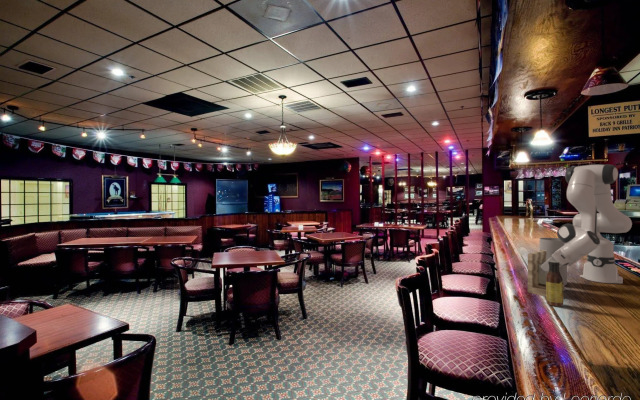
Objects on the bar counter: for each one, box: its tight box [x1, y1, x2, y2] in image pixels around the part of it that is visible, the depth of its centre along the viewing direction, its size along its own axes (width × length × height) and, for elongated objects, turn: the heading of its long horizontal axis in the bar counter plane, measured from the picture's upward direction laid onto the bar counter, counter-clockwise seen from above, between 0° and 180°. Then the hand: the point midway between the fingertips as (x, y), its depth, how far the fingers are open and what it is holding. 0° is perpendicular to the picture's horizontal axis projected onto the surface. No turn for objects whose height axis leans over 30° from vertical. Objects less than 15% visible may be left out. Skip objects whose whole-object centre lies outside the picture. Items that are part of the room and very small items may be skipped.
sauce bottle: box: [545, 261, 564, 307], centre depth 143 cm, size 7×6×20 cm
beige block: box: [538, 261, 548, 285], centre depth 164 cm, size 5×4×12 cm
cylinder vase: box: [539, 237, 568, 286], centre depth 177 cm, size 12×12×25 cm
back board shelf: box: [527, 249, 565, 297], centre depth 162 cm, size 18×10×20 cm, turn 125°
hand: (542, 272), depth 164 cm, fingers closed on beige block, 5 cm apart
